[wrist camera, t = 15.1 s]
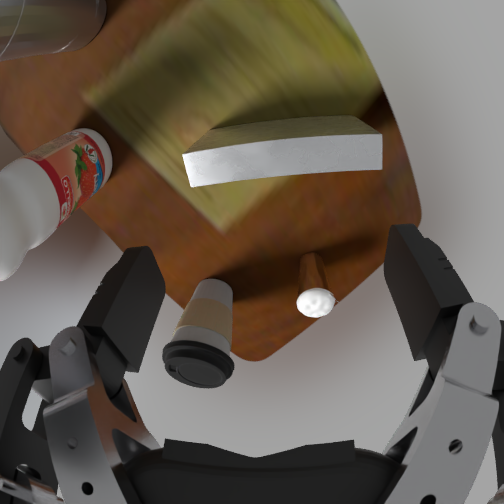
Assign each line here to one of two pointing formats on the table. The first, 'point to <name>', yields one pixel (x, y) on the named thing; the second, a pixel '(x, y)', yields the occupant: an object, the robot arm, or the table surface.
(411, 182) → the table surface
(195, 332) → the coffee cup
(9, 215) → the fruit juice
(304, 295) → the milkshake
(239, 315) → the table surface
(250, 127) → the panel
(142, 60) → the table surface
